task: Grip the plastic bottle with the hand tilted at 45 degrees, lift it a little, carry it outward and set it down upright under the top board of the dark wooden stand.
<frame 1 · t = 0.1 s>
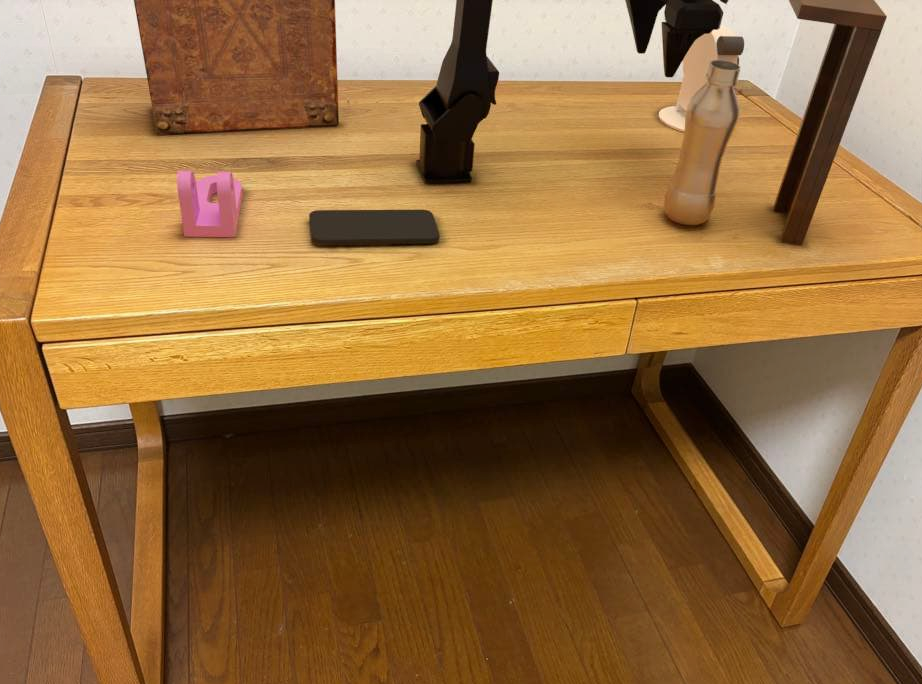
hand: (654, 64, 113), 15 cm above the table, tool pointing down, fingers open, 9 cm apart
dark wooden stand: (735, 218, 113), on the table
phone: (374, 231, 101), on the table
bracket: (216, 211, 102), on the table
book: (246, 119, 123), on the table
beige rounded piece: (693, 123, 139), on the table
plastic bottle: (684, 221, 112), on the table
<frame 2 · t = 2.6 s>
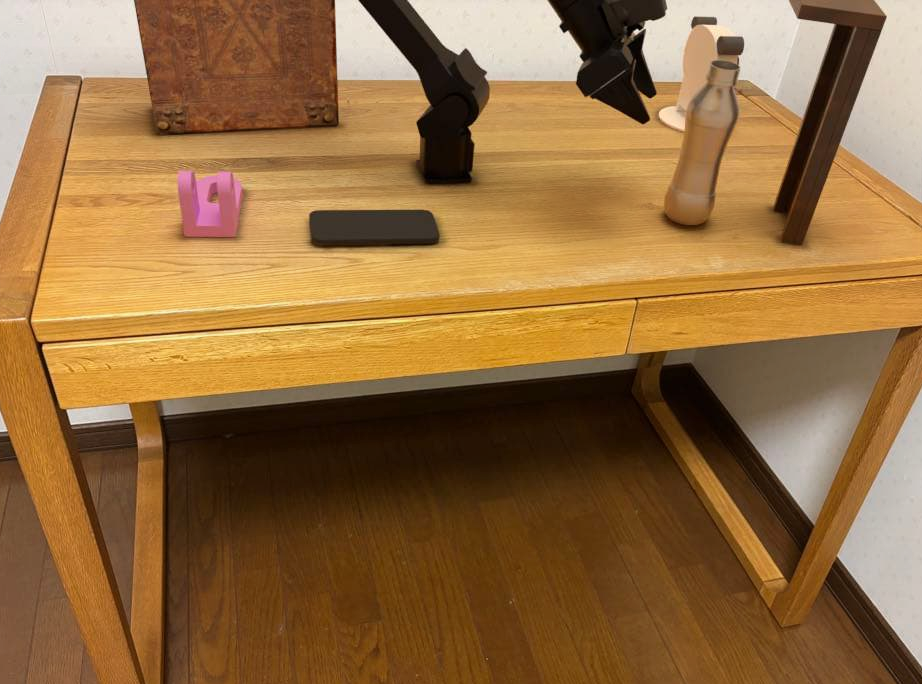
hand: (650, 108, 104), 13 cm above the table, tool tilted 45°, fingers open, 9 cm apart
nothing on the table moved.
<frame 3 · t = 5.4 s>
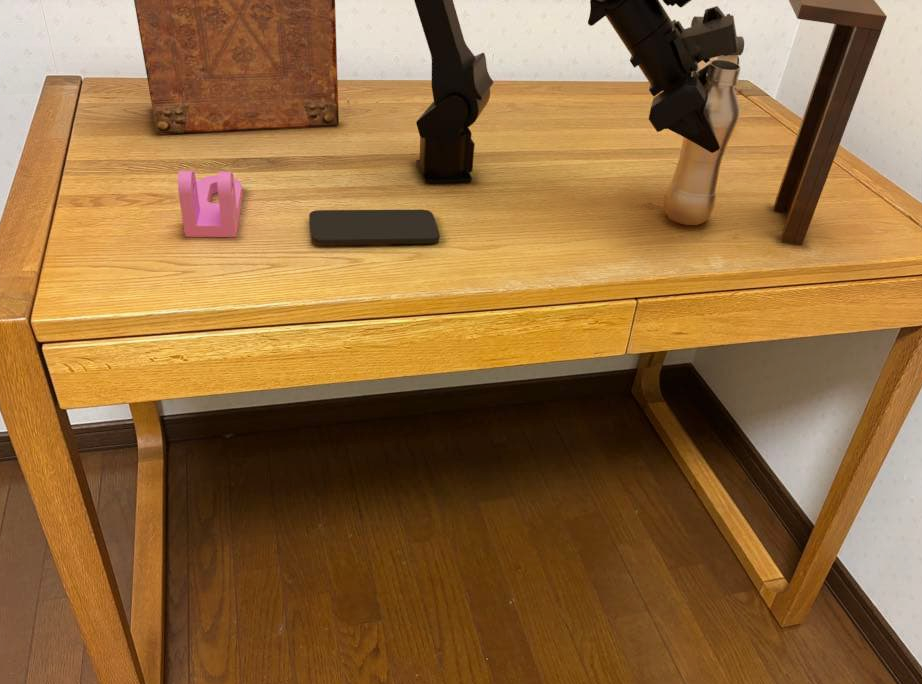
hand: (717, 140, 104), 11 cm above the table, tool tilted 45°, fingers closed on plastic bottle, 6 cm apart
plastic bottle: (684, 220, 112), on the table, touching gripper
everything else where it was.
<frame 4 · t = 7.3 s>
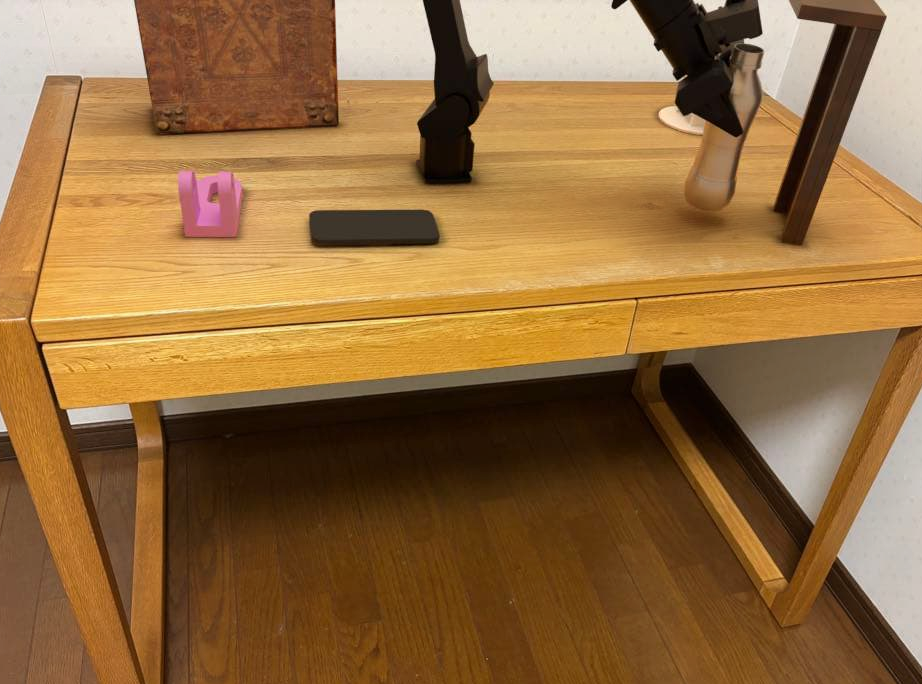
hand: (739, 125, 104), 13 cm above the table, tool tilted 45°, fingers closed on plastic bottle, 6 cm apart
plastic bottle: (704, 207, 111), point 2 cm above the table, touching gripper
everything else where it was.
when the fingers open (11 cm above the table, at t = 9.4 s): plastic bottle stays where it is, on the table.
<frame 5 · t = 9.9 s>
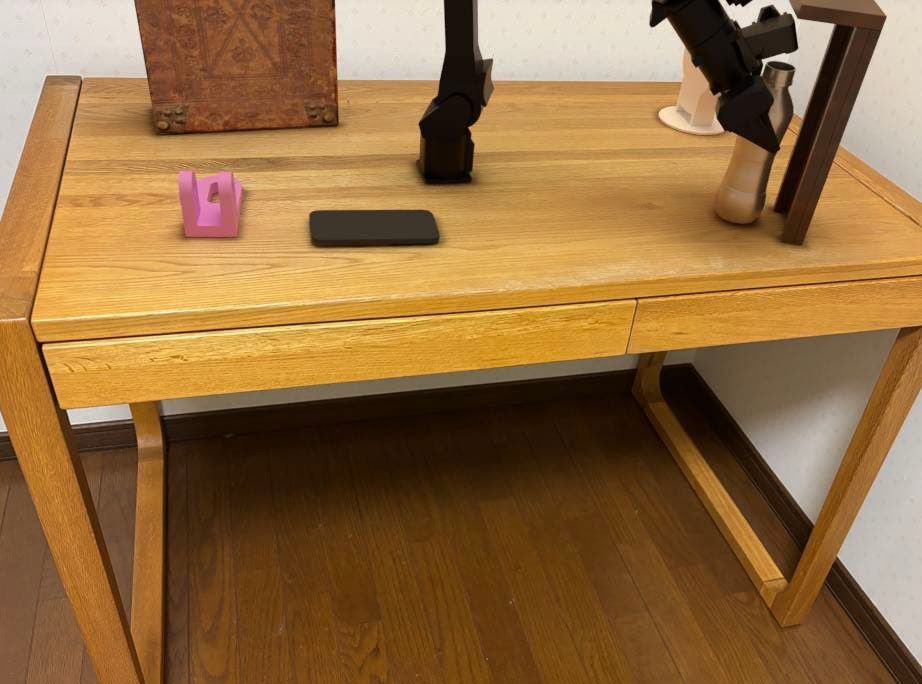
hand: (772, 137, 106), 12 cm above the table, tool tilted 45°, fingers open, 9 cm apart
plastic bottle: (733, 219, 113), on the table
everything else where it was.
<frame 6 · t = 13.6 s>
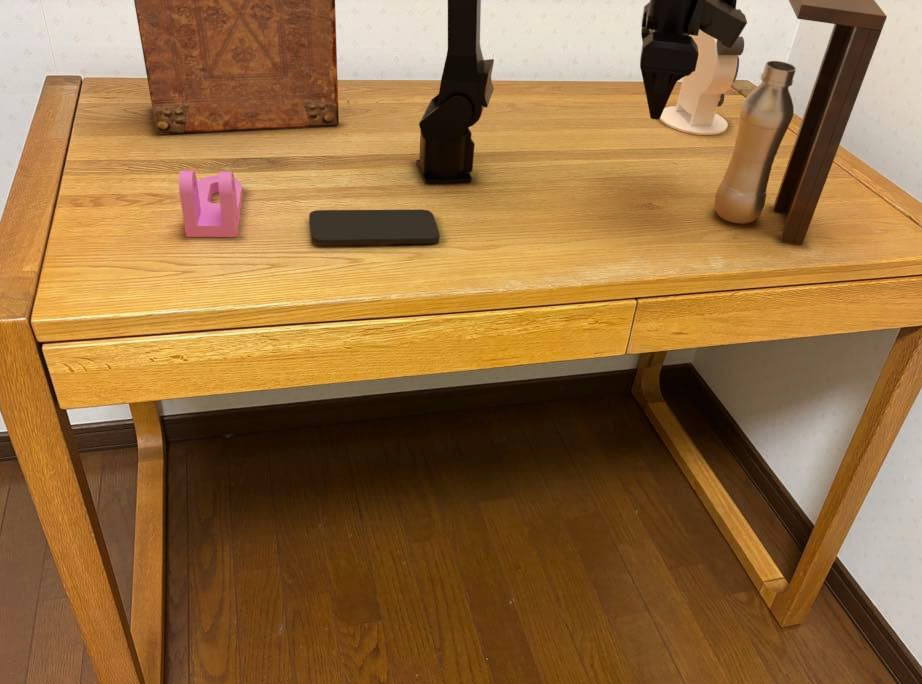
hand: (654, 105, 106), 13 cm above the table, tool pointing down, fingers open, 9 cm apart
nothing on the table moved.
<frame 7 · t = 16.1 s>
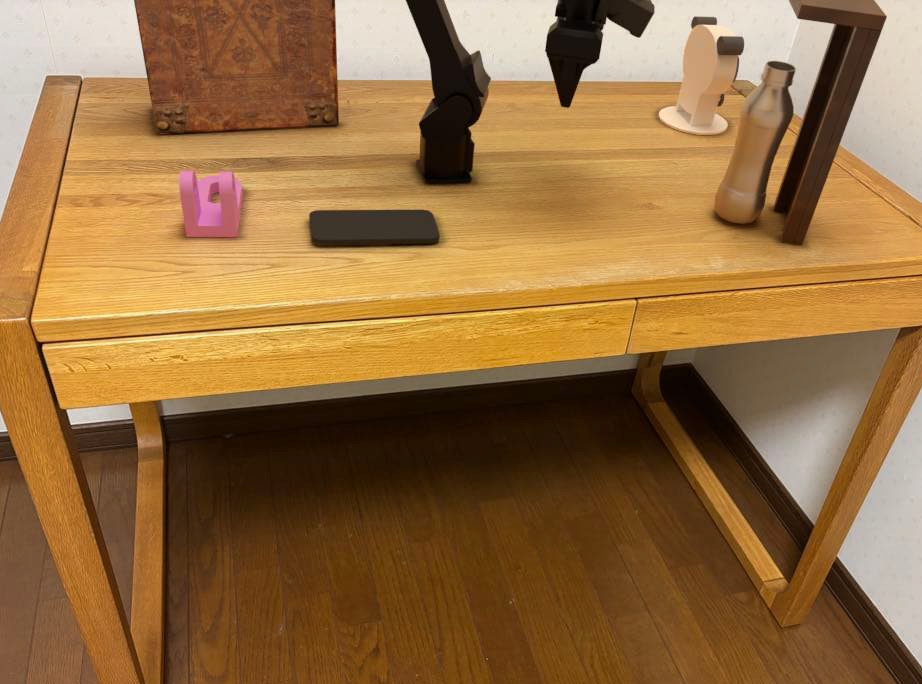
hand: (568, 93, 106), 13 cm above the table, tool pointing down, fingers open, 9 cm apart
nothing on the table moved.
at the end: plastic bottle 0.8 cm off-centre on the dark wooden stand, point 0.0 cm above the dark wooden stand's base; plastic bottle tilted 0°; the gripper is holding nothing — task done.
